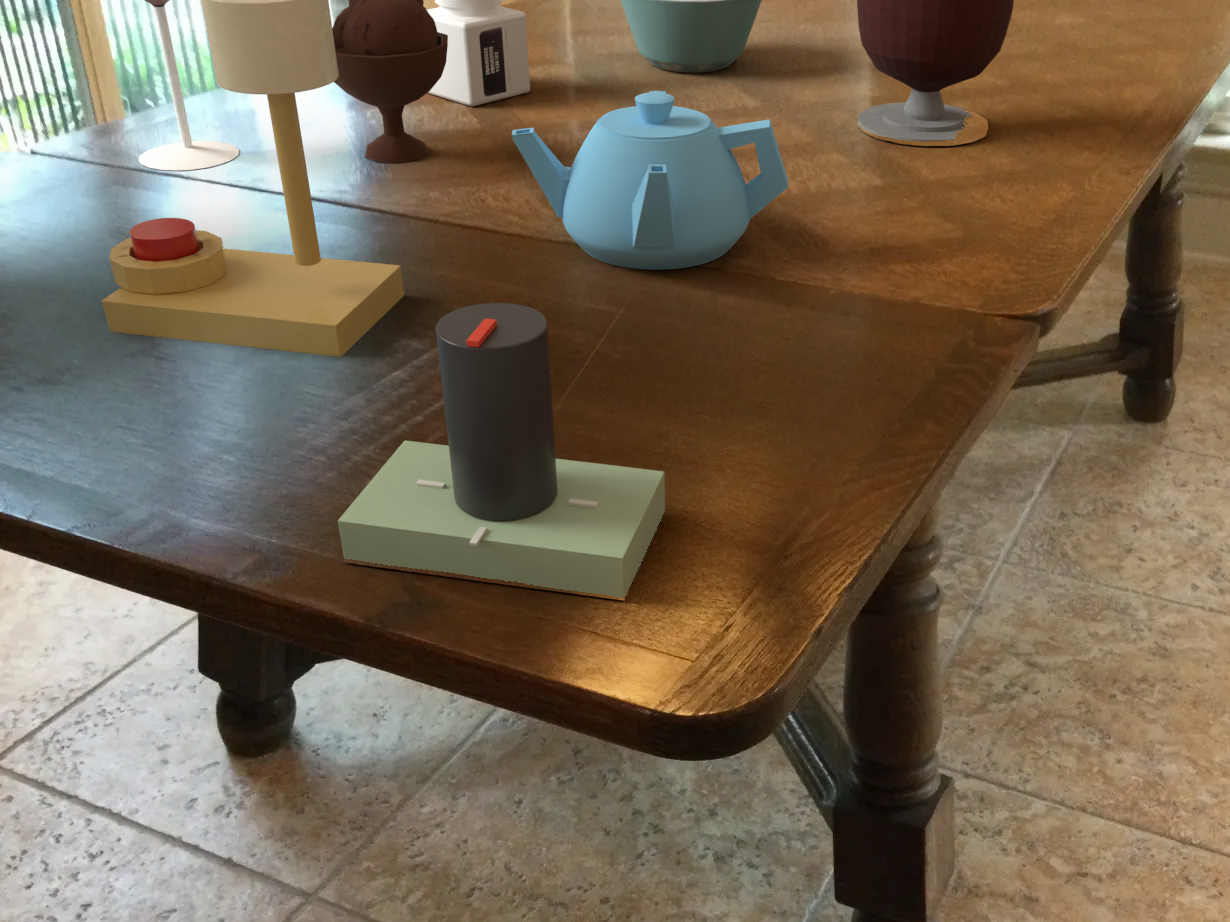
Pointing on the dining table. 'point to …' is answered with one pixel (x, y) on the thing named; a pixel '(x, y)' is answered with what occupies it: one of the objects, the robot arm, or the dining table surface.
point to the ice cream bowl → (389, 66)
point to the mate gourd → (928, 59)
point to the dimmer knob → (498, 409)
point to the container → (481, 51)
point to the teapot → (657, 184)
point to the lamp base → (250, 298)
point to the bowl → (691, 32)
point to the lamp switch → (164, 239)
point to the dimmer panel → (508, 525)
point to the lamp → (278, 83)
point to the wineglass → (181, 119)
